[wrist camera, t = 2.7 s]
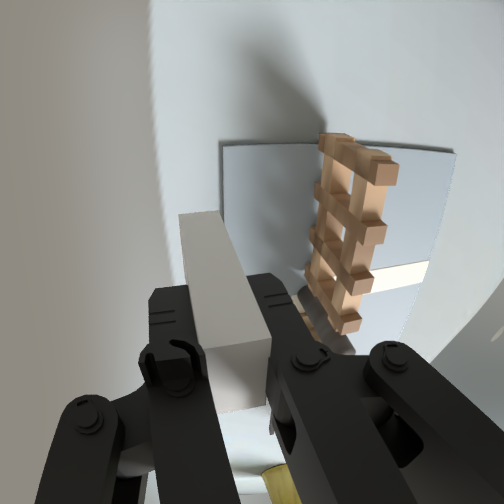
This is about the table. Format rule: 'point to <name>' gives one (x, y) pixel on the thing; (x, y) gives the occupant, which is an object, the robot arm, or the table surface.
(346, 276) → the fence panel
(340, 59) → the table surface
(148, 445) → the robot arm
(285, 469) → the vase
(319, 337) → the fence panel
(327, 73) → the table surface
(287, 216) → the card
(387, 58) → the table surface
